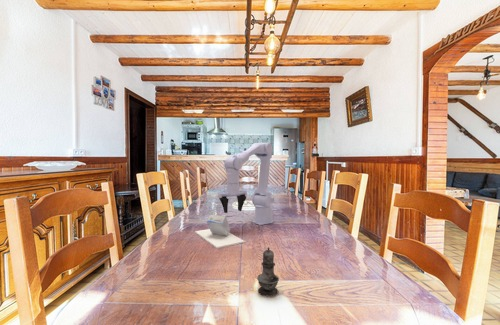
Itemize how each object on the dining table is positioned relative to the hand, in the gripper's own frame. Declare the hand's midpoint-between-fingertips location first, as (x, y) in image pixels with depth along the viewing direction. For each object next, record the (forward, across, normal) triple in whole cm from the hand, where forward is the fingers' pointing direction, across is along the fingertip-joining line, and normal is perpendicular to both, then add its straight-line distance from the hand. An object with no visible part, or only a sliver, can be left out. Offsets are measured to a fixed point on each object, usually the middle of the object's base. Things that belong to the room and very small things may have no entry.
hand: (232, 211), depth 116 cm
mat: (+10, +8, +2) cm, 13 cm away
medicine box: (+9, +6, 0) cm, 10 cm away
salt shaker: (+10, +16, +49) cm, 52 cm away
